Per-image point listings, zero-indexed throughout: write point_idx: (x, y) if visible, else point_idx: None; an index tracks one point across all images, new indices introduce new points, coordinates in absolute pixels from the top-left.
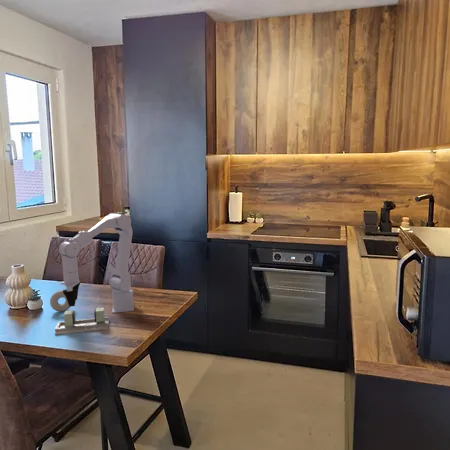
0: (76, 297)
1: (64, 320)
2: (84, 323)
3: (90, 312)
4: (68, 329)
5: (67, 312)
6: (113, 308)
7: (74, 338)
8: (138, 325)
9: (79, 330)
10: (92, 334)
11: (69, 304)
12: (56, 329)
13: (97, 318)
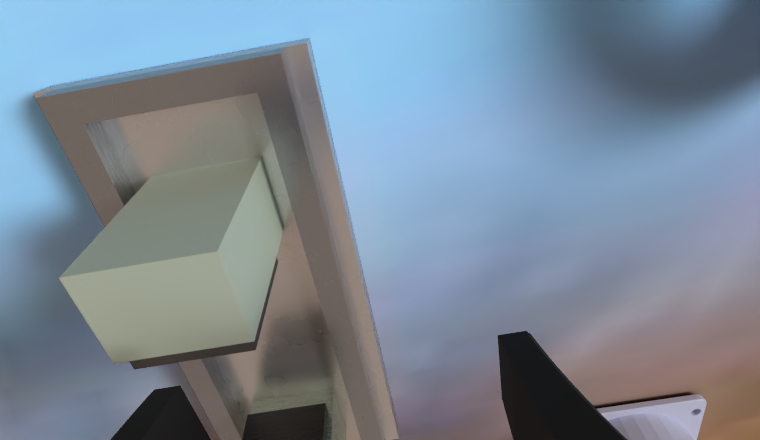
0: (514, 437)
1: (106, 227)
2: (299, 309)
3: (646, 257)
4: None
5: (155, 298)
6: (617, 427)
7: (21, 290)
8: None
9: None
10: (129, 384)
11: (134, 428)
12: (48, 114)
13: None
